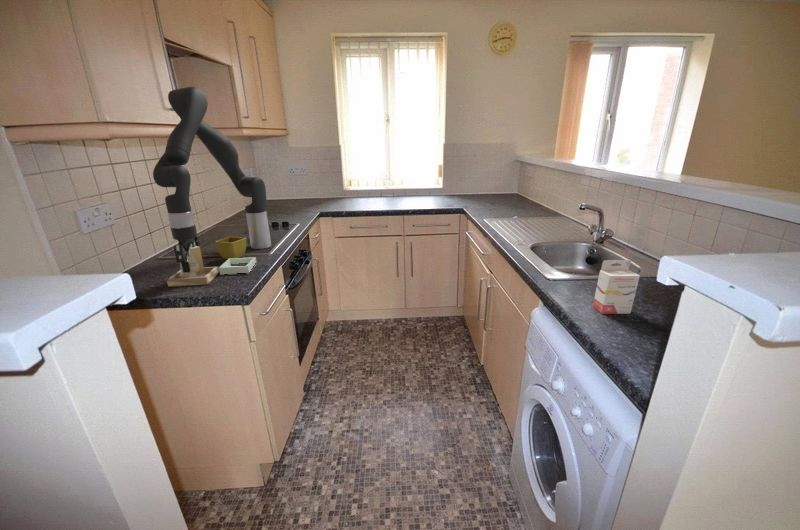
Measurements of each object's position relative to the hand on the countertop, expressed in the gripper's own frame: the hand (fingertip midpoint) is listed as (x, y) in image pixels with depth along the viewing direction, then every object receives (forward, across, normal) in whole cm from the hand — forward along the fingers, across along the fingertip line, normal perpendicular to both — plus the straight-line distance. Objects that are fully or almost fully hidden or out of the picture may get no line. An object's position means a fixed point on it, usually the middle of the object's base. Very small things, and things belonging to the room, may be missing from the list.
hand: (192, 268), depth 125 cm
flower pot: (+4, -23, +7) cm, 25 cm away
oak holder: (+4, 0, 0) cm, 4 cm away
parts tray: (+4, -9, +13) cm, 17 cm away
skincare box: (+5, 0, 0) cm, 5 cm away
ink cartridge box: (+5, +48, +132) cm, 141 cm away
